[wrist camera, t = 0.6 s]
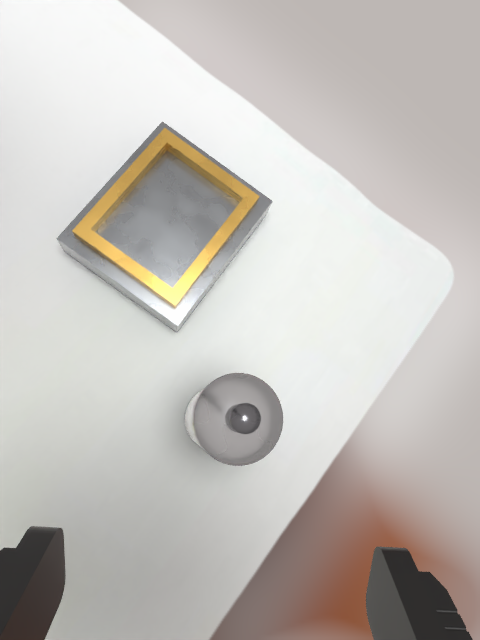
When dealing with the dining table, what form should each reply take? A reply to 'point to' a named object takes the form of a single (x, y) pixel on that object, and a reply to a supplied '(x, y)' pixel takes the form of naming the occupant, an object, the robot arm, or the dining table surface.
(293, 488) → the dining table surface
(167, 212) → the grey square tray
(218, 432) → the spout can
